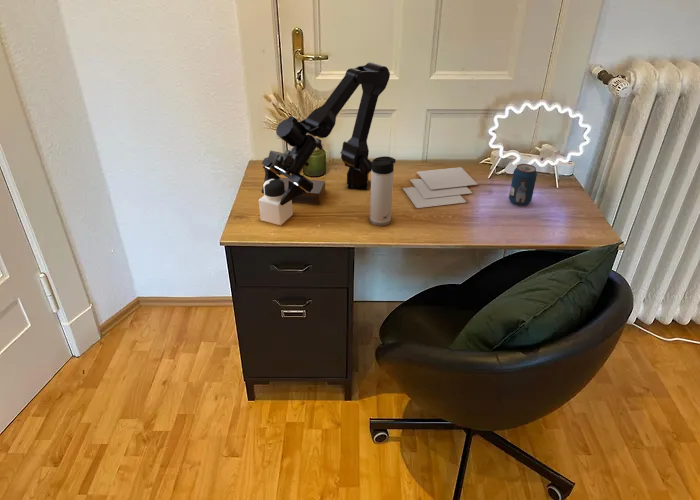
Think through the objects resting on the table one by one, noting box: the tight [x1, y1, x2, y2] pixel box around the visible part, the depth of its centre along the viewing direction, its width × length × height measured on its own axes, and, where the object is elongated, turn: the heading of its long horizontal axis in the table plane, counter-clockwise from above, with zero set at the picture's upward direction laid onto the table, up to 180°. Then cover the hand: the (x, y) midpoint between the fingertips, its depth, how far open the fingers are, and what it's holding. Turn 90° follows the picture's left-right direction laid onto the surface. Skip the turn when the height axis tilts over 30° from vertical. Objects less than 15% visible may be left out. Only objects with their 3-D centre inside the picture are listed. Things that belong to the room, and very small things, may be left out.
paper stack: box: [402, 166, 479, 209], centre depth 179 cm, size 23×25×1 cm
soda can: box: [508, 163, 538, 208], centre depth 168 cm, size 7×7×12 cm
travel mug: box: [369, 155, 396, 227], centre depth 156 cm, size 6×7×20 cm
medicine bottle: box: [258, 179, 294, 226], centre depth 159 cm, size 7×7×12 cm
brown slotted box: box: [279, 176, 326, 206], centre depth 173 cm, size 17×9×4 cm, turn 81°
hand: (271, 198), depth 158 cm, fingers open, 9 cm apart
